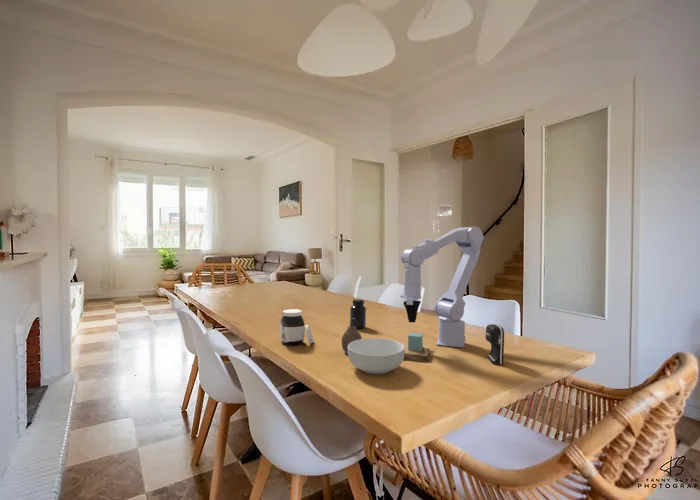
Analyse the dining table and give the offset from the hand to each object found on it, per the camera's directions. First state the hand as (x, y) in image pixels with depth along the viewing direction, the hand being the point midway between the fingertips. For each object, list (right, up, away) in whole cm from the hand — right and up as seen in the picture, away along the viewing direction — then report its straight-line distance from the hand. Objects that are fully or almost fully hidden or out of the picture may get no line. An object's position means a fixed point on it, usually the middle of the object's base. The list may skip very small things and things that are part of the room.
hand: (412, 321), depth 126 cm
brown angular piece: (-5, -9, -7) cm, 13 cm away
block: (+1, -9, 0) cm, 9 cm away
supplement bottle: (-18, -9, +30) cm, 36 cm away
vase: (-21, -10, -5) cm, 24 cm away
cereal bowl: (-14, -10, -21) cm, 27 cm away
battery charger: (+24, -10, -13) cm, 29 cm away
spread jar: (-41, -9, +6) cm, 42 cm away
